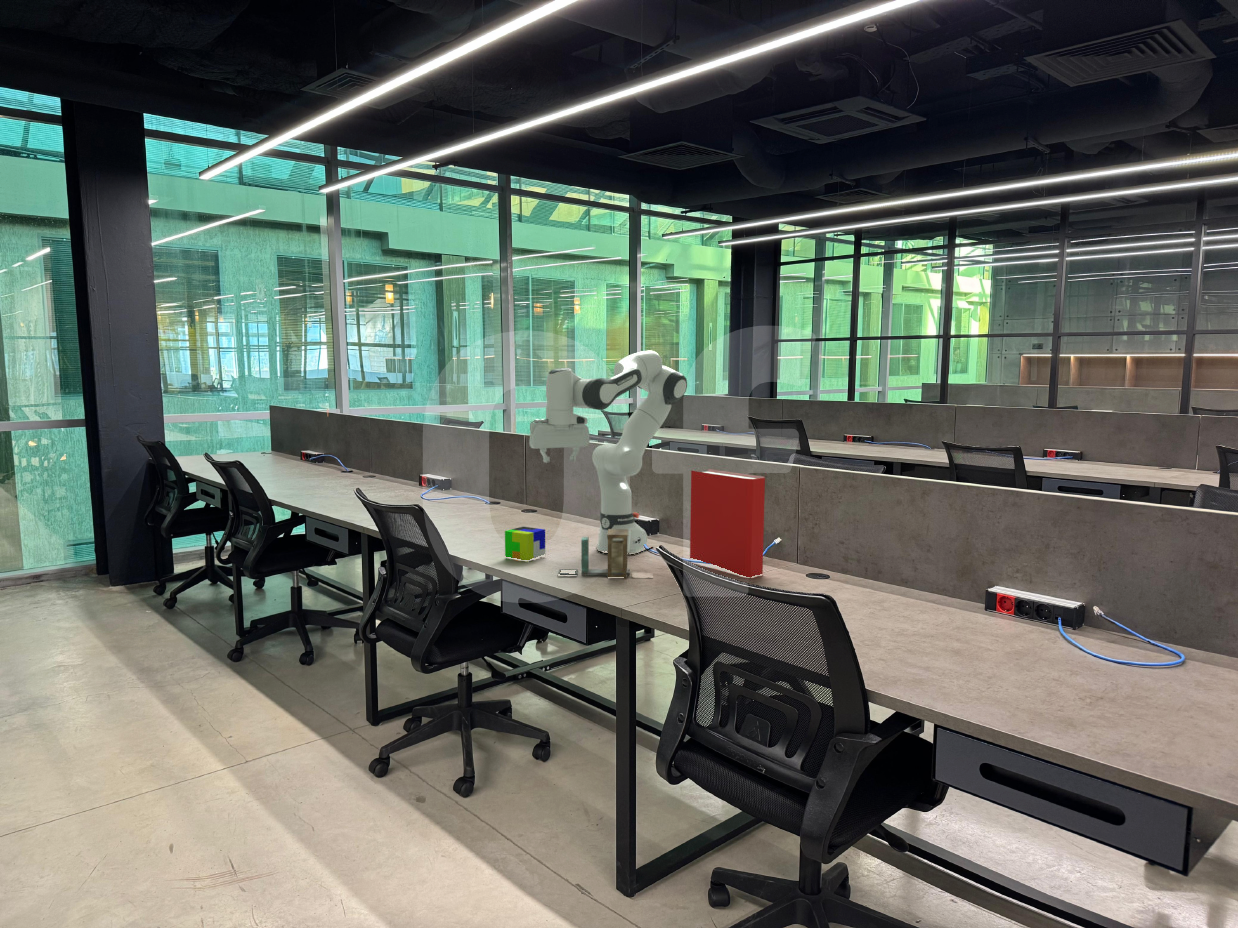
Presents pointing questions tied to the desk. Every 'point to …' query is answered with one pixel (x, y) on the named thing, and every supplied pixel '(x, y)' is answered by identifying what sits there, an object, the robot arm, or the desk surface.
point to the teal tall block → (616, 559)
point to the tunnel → (623, 535)
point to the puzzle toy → (524, 543)
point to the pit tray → (568, 573)
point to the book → (728, 520)
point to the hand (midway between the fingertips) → (559, 461)
